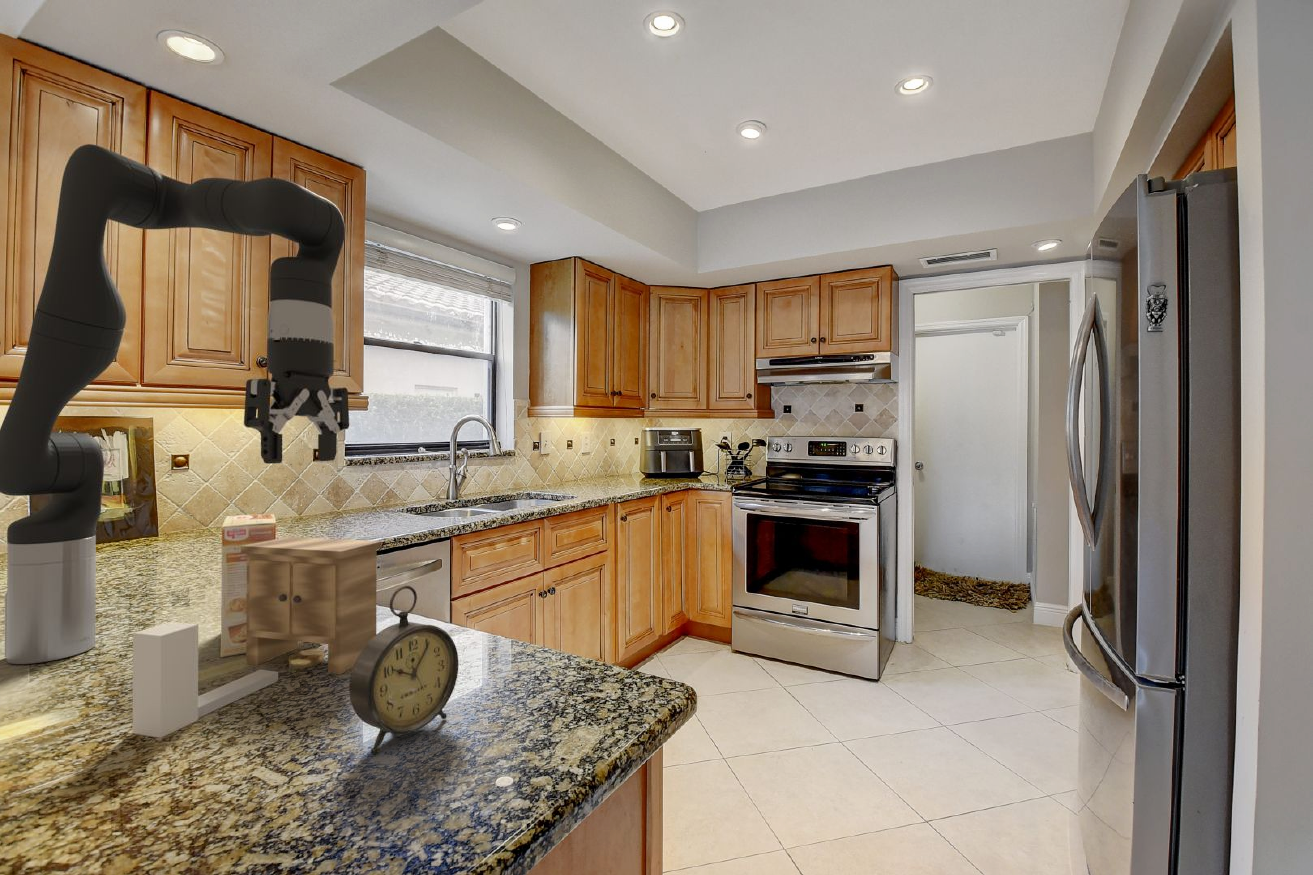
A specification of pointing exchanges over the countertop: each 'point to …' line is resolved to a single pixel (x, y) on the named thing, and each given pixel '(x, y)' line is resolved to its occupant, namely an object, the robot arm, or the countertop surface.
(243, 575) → the coffeecake box
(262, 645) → the cabinet
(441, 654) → the alarm clock
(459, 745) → the countertop surface
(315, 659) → the token
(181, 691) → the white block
